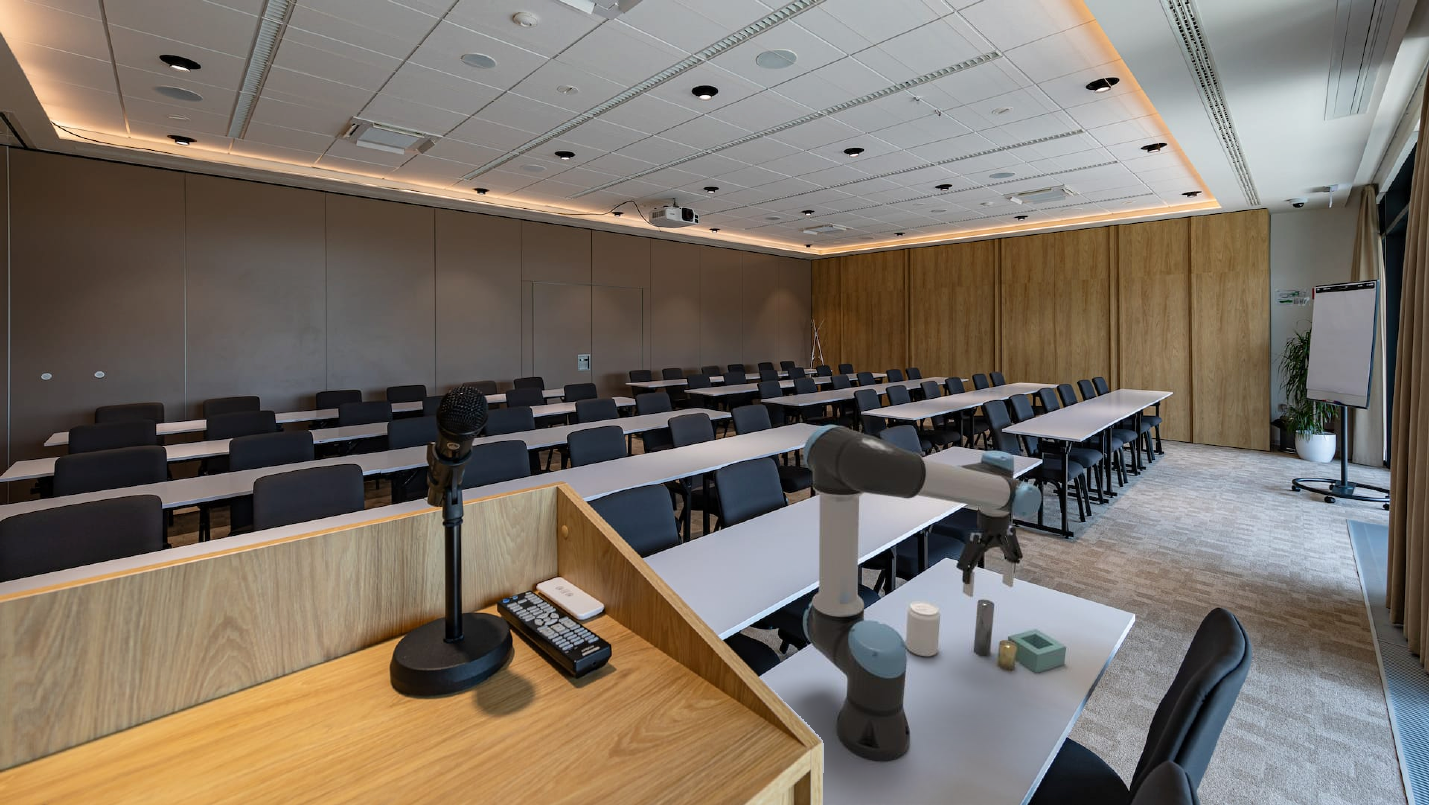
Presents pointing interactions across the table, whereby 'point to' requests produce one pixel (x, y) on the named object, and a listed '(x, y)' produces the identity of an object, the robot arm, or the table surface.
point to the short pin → (1007, 655)
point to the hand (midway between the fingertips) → (988, 589)
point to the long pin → (983, 627)
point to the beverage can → (922, 628)
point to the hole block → (1038, 650)
